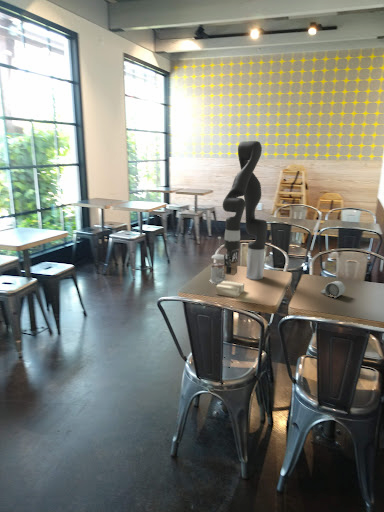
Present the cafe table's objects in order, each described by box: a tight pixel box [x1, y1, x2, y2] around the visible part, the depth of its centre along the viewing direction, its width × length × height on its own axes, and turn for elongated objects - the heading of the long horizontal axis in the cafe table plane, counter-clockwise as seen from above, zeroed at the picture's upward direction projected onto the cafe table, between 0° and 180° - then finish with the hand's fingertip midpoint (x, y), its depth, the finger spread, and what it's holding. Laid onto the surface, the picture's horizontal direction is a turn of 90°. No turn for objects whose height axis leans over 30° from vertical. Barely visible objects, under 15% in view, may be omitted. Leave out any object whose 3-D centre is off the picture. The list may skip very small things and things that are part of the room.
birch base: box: [215, 279, 245, 298], centre depth 192 cm, size 11×11×4 cm
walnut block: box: [223, 261, 239, 276], centre depth 189 cm, size 5×5×6 cm
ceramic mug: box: [320, 280, 346, 299], centre depth 190 cm, size 11×8×8 cm
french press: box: [208, 236, 226, 285], centre depth 206 cm, size 10×12×25 cm
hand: (230, 272), depth 189 cm, fingers closed on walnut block, 5 cm apart
